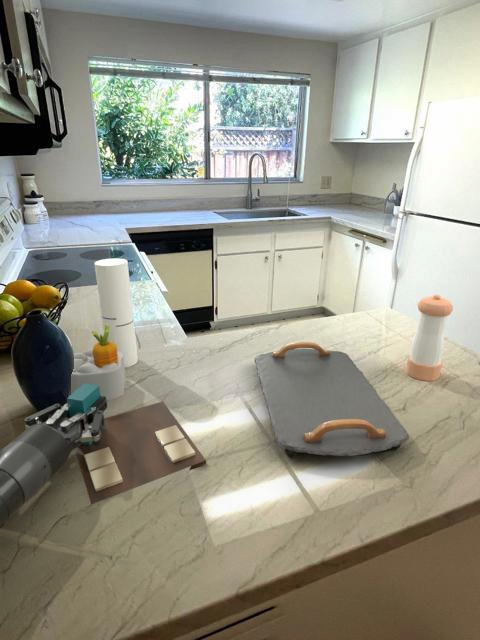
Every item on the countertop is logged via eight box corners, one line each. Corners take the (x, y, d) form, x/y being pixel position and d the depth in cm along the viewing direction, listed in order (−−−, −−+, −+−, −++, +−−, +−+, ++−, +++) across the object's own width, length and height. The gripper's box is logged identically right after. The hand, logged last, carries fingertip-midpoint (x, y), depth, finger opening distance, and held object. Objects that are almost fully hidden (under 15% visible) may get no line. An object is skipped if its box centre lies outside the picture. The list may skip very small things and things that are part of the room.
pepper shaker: (400, 373, 94) (413, 295, 87) (413, 362, 99) (426, 288, 92) (432, 384, 89) (448, 302, 82) (444, 373, 94) (460, 295, 87)
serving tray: (251, 360, 100) (251, 337, 97) (342, 356, 102) (344, 334, 99) (280, 472, 64) (282, 440, 62) (419, 462, 66) (426, 431, 64)
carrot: (102, 400, 83) (93, 334, 77) (95, 390, 86) (85, 325, 81) (125, 393, 85) (118, 328, 80) (117, 383, 89) (110, 320, 83)
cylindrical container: (113, 354, 103) (101, 258, 94) (141, 355, 102) (131, 258, 93) (103, 368, 96) (89, 265, 87) (133, 368, 96) (121, 266, 87)
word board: (92, 508, 57) (90, 500, 57) (69, 432, 73) (68, 425, 73) (206, 463, 66) (206, 457, 65) (163, 404, 82) (162, 398, 81)
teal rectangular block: (74, 443, 69) (66, 398, 66) (90, 425, 74) (84, 383, 70) (89, 445, 69) (82, 400, 65) (105, 428, 73) (99, 385, 70)
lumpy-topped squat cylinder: (123, 402, 82) (118, 365, 79) (55, 408, 80) (48, 370, 77) (127, 377, 92) (123, 343, 89) (67, 382, 90) (61, 347, 87)
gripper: (65, 451, 53) (129, 385, 69) (-22, 435, 56) (57, 375, 72) (74, 494, 56) (133, 422, 72) (-10, 477, 59) (64, 411, 75)
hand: (95, 399), depth 72 cm, fingers closed on teal rectangular block, 3 cm apart
